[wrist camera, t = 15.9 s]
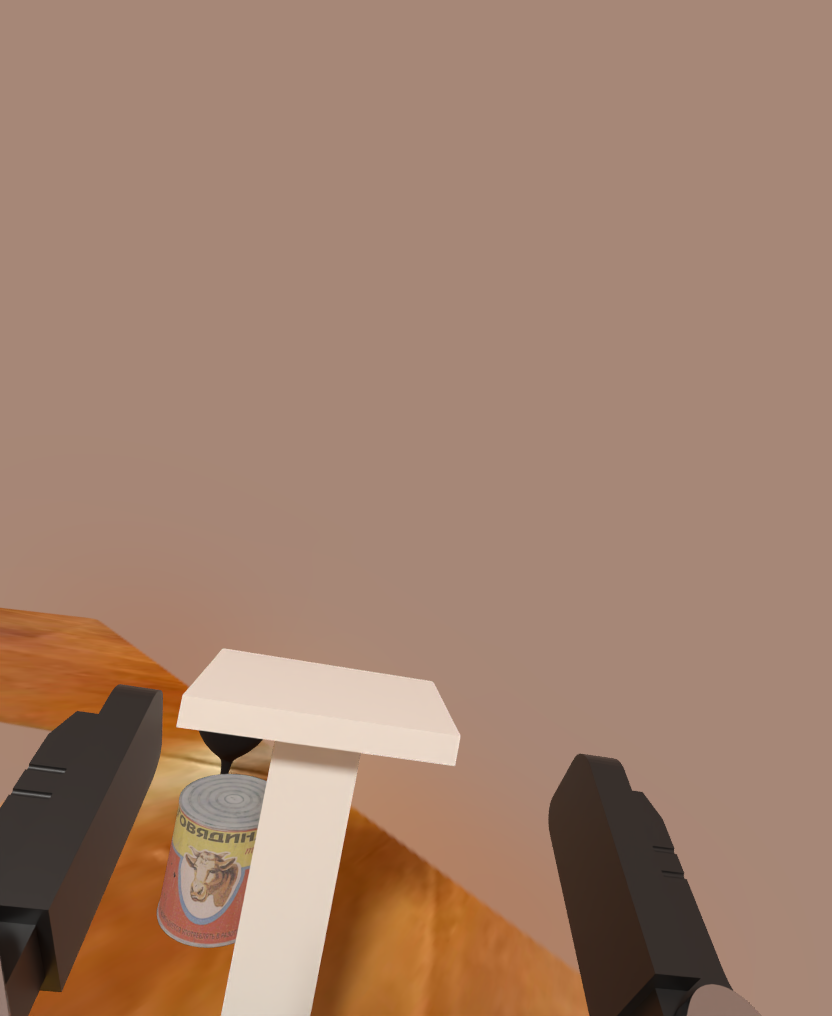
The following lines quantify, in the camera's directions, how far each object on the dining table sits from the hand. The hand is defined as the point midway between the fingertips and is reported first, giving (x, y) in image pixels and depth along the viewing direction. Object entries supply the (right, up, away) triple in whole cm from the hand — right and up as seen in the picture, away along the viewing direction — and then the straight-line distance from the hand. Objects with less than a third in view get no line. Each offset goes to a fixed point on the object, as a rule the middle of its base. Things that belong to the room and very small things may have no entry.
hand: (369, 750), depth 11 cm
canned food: (-21, -39, +51) cm, 68 cm away
